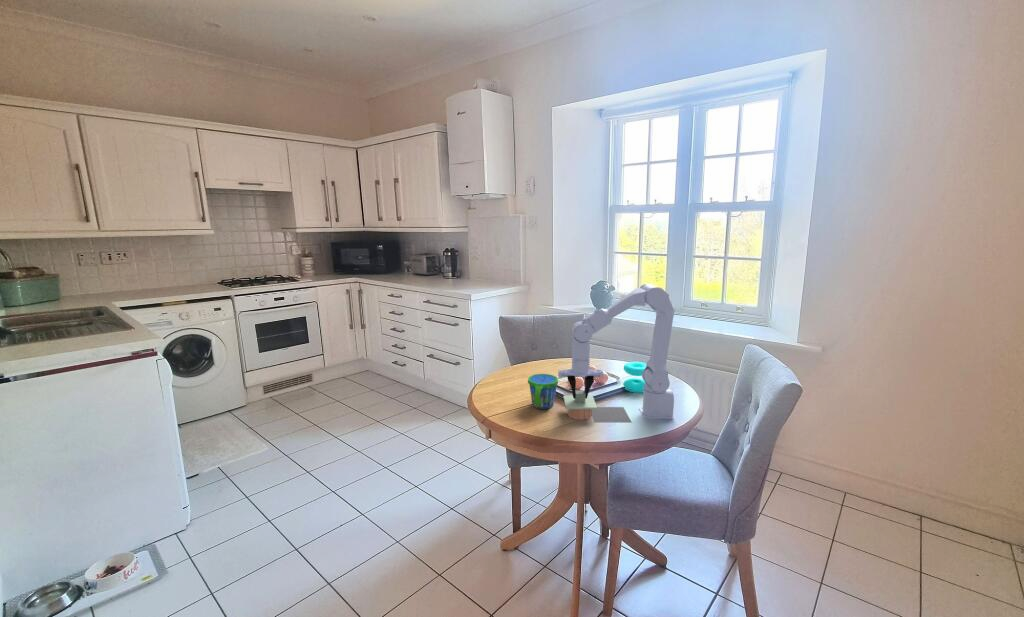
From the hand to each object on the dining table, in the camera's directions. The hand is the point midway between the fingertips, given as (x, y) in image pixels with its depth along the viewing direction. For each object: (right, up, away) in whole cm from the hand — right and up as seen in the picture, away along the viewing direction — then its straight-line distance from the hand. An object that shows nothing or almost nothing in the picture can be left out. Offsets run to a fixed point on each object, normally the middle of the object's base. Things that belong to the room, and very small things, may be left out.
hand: (579, 397), depth 145 cm
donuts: (+26, -2, +24) cm, 35 cm away
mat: (+10, -6, +1) cm, 12 cm away
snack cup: (-12, -5, +9) cm, 16 cm away
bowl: (0, -6, +1) cm, 6 cm away
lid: (0, -2, +1) cm, 2 cm away
